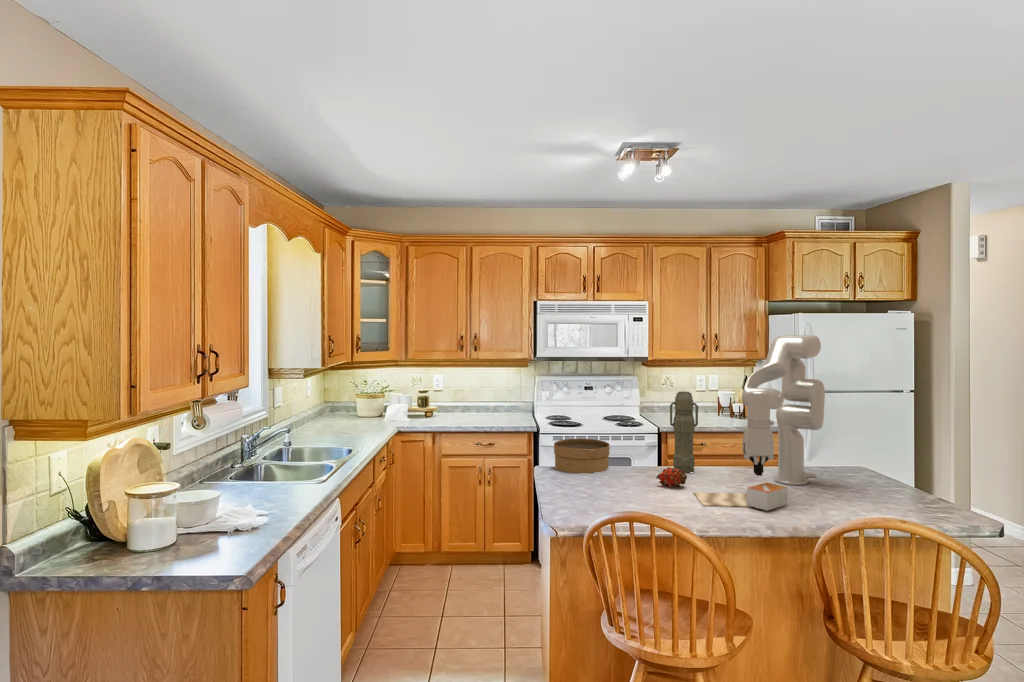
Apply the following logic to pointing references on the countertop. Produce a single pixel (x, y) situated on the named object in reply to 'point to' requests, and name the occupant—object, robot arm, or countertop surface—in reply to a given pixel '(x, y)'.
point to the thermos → (684, 431)
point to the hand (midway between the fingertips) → (758, 474)
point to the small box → (766, 496)
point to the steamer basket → (581, 455)
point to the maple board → (722, 499)
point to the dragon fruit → (672, 477)
